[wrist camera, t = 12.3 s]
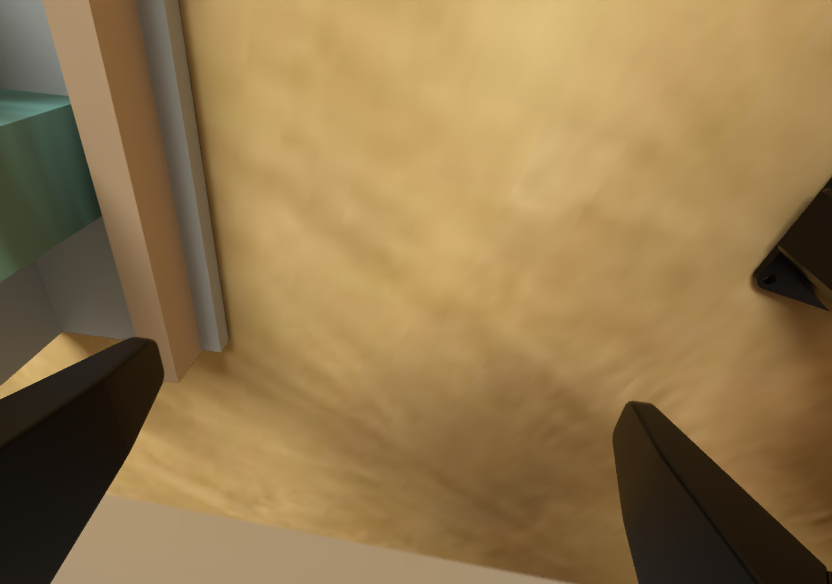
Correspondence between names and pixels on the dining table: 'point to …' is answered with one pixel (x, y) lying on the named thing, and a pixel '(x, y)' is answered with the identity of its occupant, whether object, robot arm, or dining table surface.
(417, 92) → the dining table surface
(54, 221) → the teal block
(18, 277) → the grey bookend
